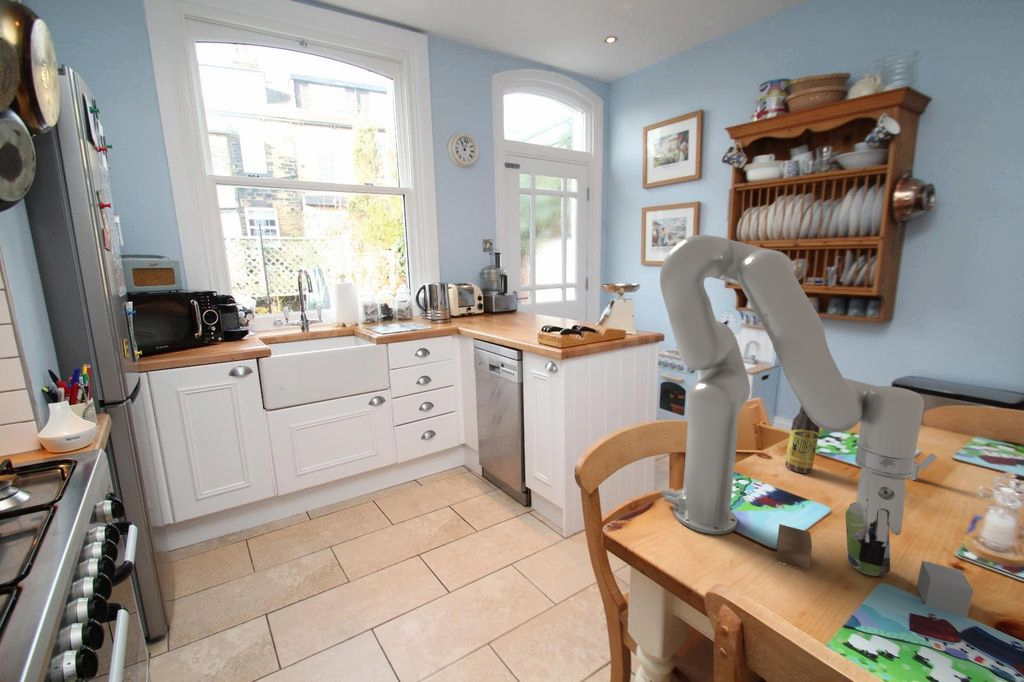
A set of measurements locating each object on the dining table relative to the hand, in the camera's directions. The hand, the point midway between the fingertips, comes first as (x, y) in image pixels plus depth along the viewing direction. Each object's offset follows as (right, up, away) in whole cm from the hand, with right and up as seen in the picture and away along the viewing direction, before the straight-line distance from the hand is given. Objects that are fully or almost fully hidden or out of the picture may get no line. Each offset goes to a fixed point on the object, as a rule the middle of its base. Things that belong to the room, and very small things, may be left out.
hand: (868, 554), depth 80 cm
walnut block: (-11, -3, +5) cm, 12 cm away
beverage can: (+1, -4, +2) cm, 4 cm away
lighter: (+39, +3, +35) cm, 52 cm away
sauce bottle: (+13, +4, +40) cm, 42 cm away
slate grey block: (+7, -5, -6) cm, 11 cm away
